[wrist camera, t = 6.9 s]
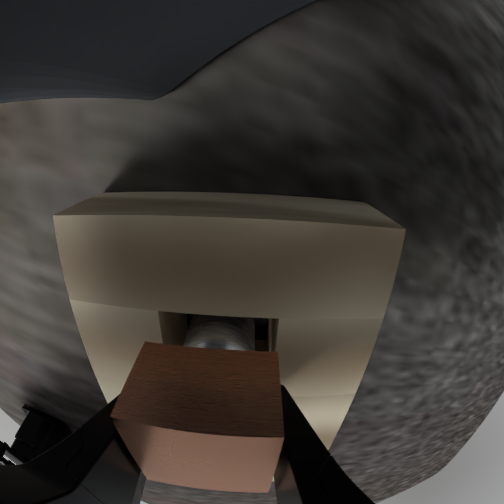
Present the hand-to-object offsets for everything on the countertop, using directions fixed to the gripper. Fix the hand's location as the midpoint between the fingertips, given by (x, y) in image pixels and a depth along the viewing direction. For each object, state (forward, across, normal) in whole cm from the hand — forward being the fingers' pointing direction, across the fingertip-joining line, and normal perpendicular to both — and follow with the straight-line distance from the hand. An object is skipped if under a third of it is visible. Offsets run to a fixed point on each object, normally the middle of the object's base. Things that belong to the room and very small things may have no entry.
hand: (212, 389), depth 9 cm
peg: (+4, 0, 0) cm, 4 cm away
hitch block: (+6, 0, +4) cm, 7 cm away
